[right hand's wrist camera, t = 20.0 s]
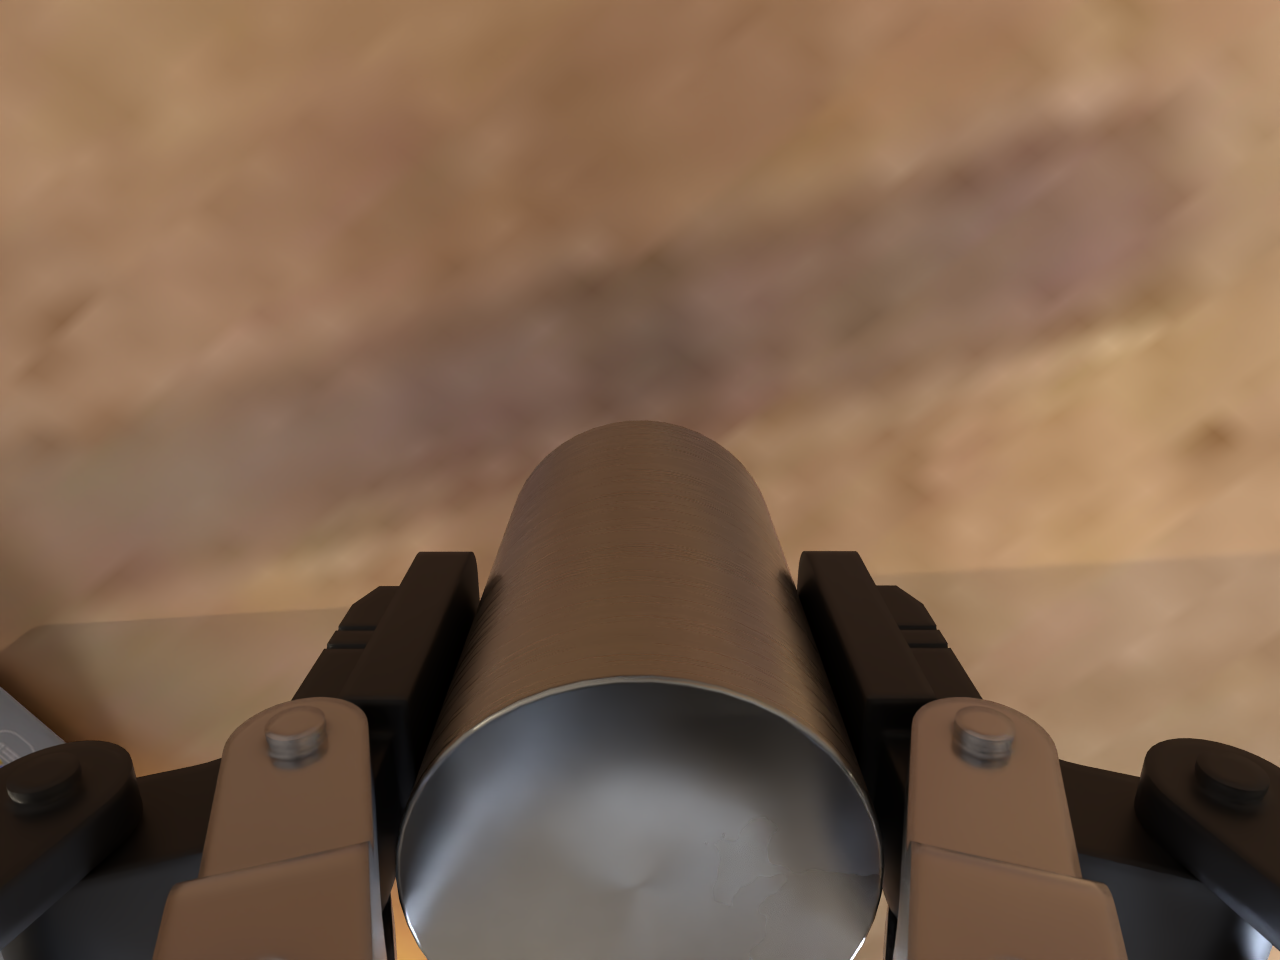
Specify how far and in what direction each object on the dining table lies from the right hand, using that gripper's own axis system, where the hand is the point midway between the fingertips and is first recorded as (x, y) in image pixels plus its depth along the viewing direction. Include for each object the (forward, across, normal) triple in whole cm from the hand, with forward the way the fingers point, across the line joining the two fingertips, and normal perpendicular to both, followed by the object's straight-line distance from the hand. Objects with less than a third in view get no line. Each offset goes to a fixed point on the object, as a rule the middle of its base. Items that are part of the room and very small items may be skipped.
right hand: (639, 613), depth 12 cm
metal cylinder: (+3, 0, 0) cm, 3 cm away
